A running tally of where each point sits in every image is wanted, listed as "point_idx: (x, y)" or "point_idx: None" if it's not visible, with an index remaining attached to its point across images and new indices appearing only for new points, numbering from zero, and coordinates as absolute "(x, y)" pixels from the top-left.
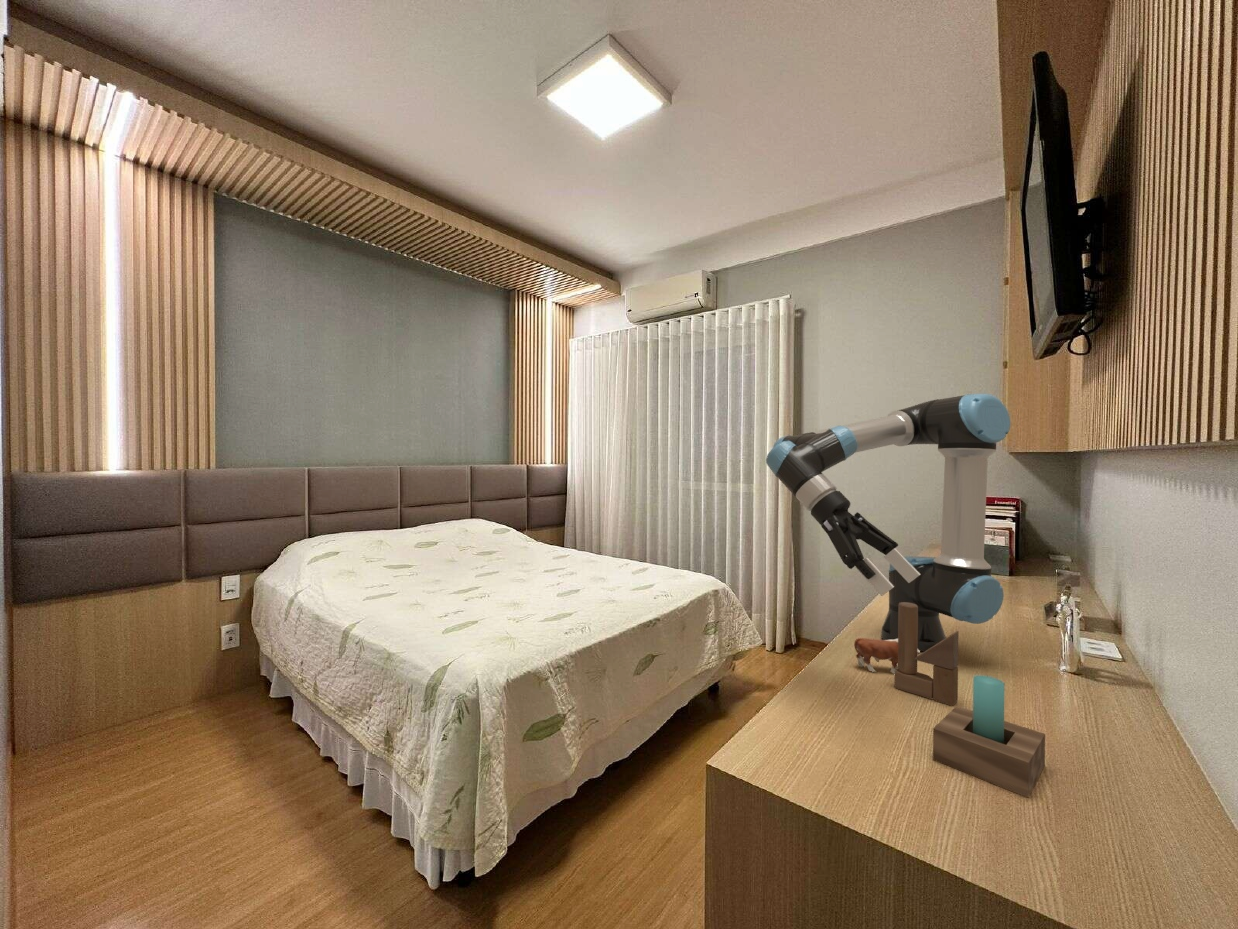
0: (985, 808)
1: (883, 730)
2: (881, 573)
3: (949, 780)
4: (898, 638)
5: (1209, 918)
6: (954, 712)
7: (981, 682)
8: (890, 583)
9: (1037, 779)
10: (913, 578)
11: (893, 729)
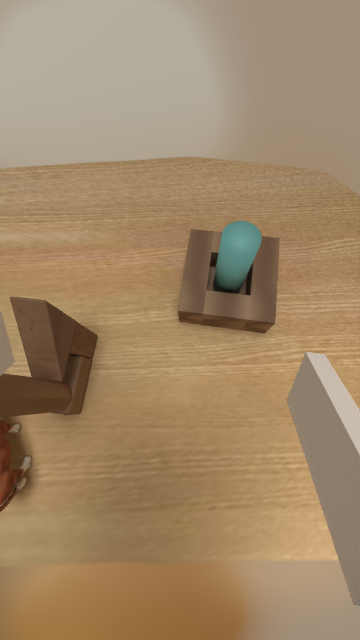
0: (318, 283)
1: (234, 393)
2: (343, 409)
3: (294, 313)
4: (28, 413)
5: (332, 176)
6: (203, 309)
7: (259, 244)
8: (321, 364)
9: None
10: (5, 339)
11: (222, 383)
